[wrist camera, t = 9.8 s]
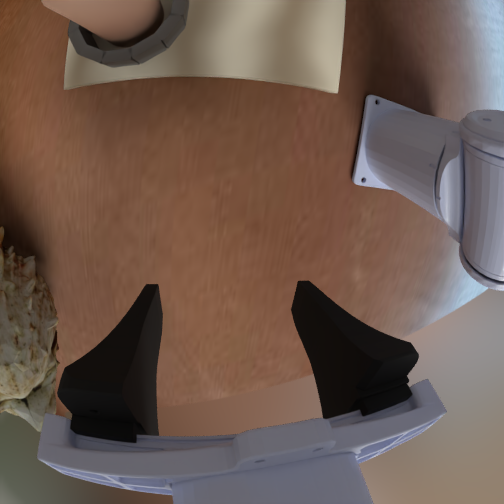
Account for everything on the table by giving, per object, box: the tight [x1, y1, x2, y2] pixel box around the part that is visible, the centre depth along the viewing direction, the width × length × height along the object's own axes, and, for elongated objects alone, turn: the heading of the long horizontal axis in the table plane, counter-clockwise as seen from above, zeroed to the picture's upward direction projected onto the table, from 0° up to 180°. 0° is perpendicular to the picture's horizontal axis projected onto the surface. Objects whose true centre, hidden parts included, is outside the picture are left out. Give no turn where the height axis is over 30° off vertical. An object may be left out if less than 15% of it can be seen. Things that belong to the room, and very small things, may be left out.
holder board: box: [64, 0, 346, 93], centre depth 12 cm, size 20×10×4 cm, turn 85°
